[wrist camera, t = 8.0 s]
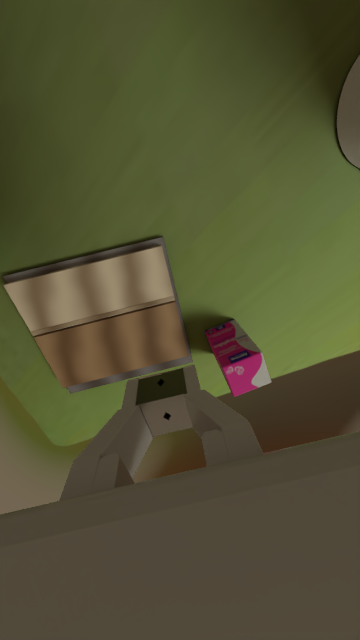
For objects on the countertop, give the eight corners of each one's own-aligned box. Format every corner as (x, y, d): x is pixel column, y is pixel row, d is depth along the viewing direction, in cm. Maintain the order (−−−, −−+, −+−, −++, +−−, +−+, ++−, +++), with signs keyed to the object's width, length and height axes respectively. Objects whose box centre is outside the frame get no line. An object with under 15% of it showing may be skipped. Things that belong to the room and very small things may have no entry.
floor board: (162, 236, 31) (163, 237, 29) (191, 358, 41) (194, 367, 38) (6, 275, 31) (-6, 279, 29) (72, 389, 40) (67, 399, 38)
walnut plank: (174, 299, 34) (175, 302, 33) (187, 351, 38) (188, 355, 37) (38, 333, 34) (33, 337, 33) (66, 382, 38) (62, 388, 37)
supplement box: (233, 316, 38) (264, 351, 28) (242, 343, 41) (273, 384, 30) (203, 329, 38) (222, 368, 28) (213, 354, 41) (234, 399, 31)
